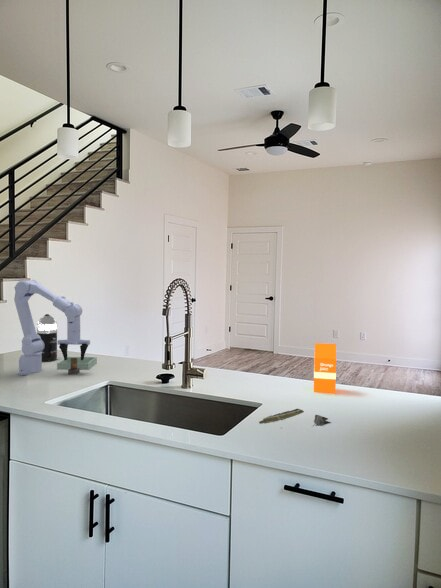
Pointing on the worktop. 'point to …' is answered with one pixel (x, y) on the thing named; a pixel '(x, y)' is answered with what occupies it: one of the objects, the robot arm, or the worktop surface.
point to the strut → (73, 367)
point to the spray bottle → (48, 337)
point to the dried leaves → (318, 419)
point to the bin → (78, 363)
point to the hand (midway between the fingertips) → (74, 359)
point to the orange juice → (325, 368)
